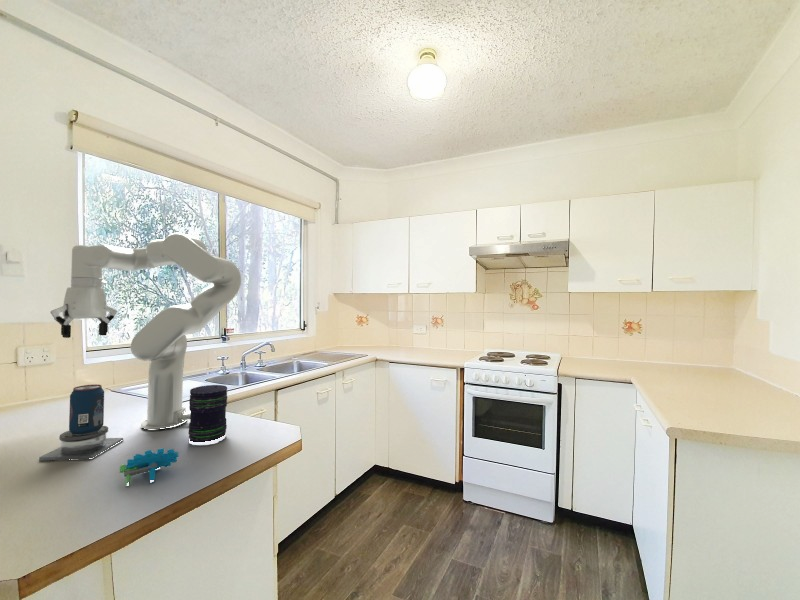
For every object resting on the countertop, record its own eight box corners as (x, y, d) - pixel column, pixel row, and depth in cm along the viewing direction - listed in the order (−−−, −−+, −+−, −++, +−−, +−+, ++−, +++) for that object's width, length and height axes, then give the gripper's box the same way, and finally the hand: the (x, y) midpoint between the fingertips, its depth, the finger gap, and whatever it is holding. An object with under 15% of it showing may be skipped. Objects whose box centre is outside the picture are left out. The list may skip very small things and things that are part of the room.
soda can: (73, 429, 96) (75, 385, 97) (106, 425, 100) (107, 383, 100) (64, 438, 90) (66, 391, 90) (99, 433, 94) (100, 388, 94)
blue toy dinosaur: (182, 458, 88) (173, 441, 81) (182, 482, 84) (173, 466, 78) (127, 472, 83) (114, 455, 76) (125, 499, 80) (110, 483, 73)
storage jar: (209, 448, 98) (211, 394, 98) (179, 444, 100) (181, 391, 100) (233, 435, 108) (234, 386, 108) (205, 432, 110) (206, 383, 110)
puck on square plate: (123, 441, 101) (123, 423, 101) (91, 459, 89) (92, 440, 89) (77, 442, 100) (77, 424, 100) (39, 461, 88) (39, 441, 88)
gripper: (110, 285, 124) (109, 333, 124) (45, 282, 109) (44, 337, 108) (123, 285, 121) (121, 335, 121) (58, 282, 106) (57, 339, 106)
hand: (85, 336), depth 115 cm, fingers open, 9 cm apart
